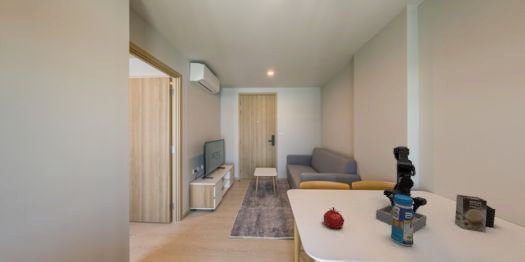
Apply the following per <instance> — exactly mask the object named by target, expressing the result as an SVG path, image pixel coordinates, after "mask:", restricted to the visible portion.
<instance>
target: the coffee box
mask: <svg viewBox="0 0 525 262" xmlns="http://www.w3.org/2000/svg"><path fill="white" fill-rule="evenodd" d="M455 202H456V204H455V219H454V224H456V225H457V226H458V227H460V228H462V229H464V230H470V231H478V232H483V233H486V227H485V226H486V209H487V205H488V201H487V200H485V199H483V198H481V197H478V196H472V195H471V196H470V195H463V194H456V201H455Z"/></svg>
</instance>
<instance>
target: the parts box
mask: <svg viewBox="0 0 525 262" xmlns="http://www.w3.org/2000/svg"><path fill="white" fill-rule="evenodd" d="M375 211H376V212H375V213H376V215H375V219H376V220H378V221H381V222H383V223H386V224H388V225H391V226H392V217H391V214H392V204H389V205H386V206H383V207H381V208H377V209H376V210H375ZM413 218H414V220H415V223H414V230H413V232H414V233H416V232H417V231H419V230H421V229H422V228H424V227H426V226H427V215H425V214H422V213H418V212H416V213H415V214H414V217H413ZM418 229H419V230H418Z"/></svg>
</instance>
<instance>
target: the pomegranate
mask: <svg viewBox="0 0 525 262" xmlns="http://www.w3.org/2000/svg"><path fill="white" fill-rule="evenodd" d="M323 222H324V224H325V225H326V226H328V227H329V228H332V229H340V228H342V227H343V226H344V223H345V218H344V217H343V215H342V214H341V211H339V210H337V209H335V207H332V208H329V209H328V210H327V211H325V213H324V214H323Z"/></svg>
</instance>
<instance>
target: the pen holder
mask: <svg viewBox="0 0 525 262" xmlns="http://www.w3.org/2000/svg"><path fill="white" fill-rule="evenodd" d="M495 217H496V208H493V207H491V206H489V205H488V204H487V209H486V226H485V228H493V227H494V226H495V225H494V224H495V220H496V219H495Z"/></svg>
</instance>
